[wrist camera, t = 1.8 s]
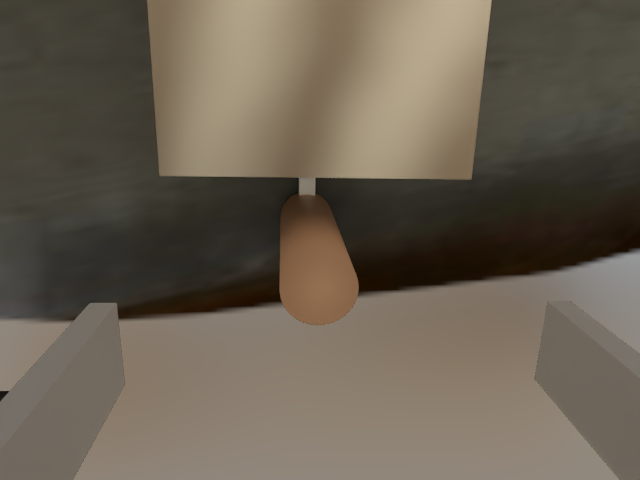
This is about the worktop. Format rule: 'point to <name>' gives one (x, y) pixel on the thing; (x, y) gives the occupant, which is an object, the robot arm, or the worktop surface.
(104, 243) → the worktop surface
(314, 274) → the block with rod
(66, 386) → the robot arm
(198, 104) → the open wooden box
